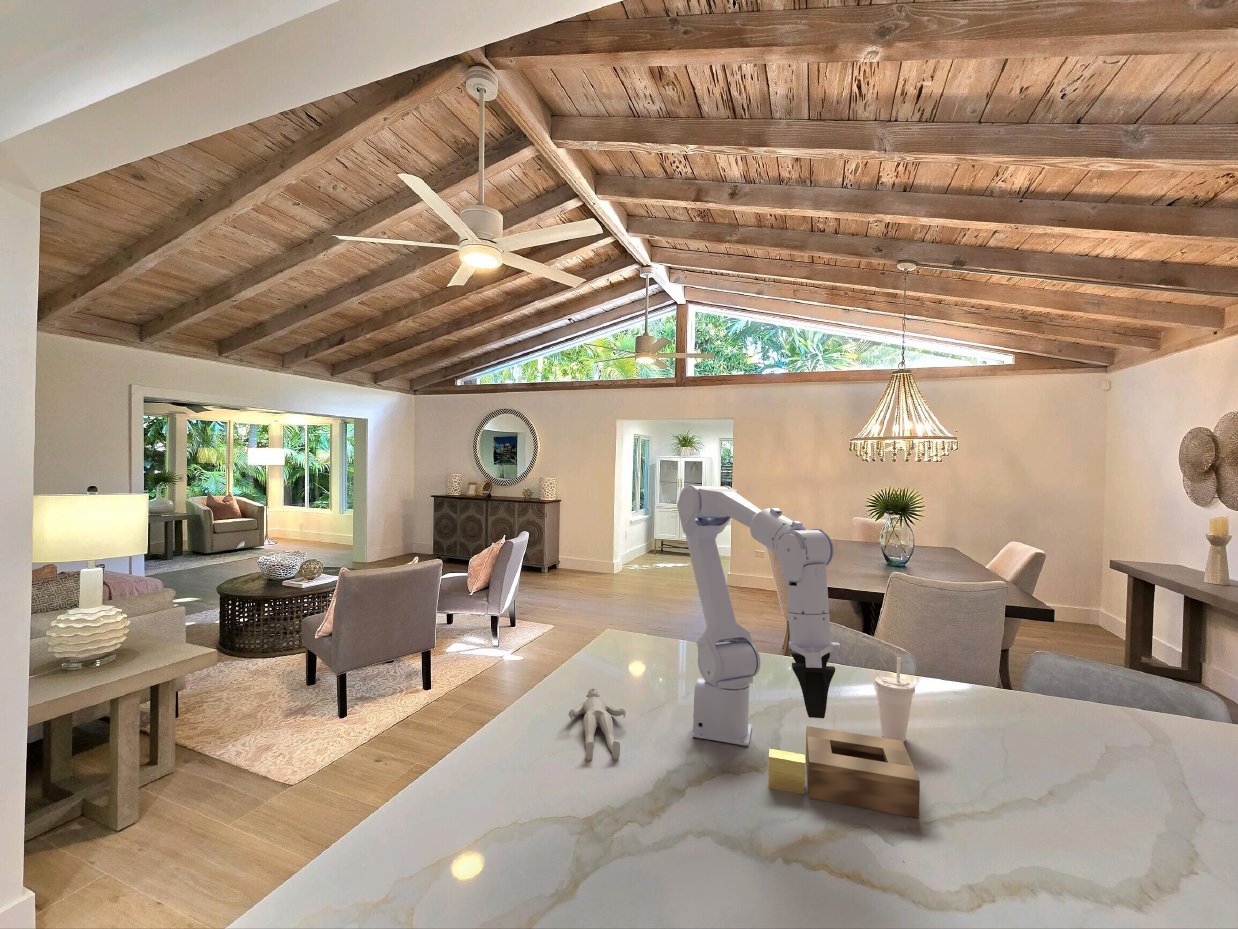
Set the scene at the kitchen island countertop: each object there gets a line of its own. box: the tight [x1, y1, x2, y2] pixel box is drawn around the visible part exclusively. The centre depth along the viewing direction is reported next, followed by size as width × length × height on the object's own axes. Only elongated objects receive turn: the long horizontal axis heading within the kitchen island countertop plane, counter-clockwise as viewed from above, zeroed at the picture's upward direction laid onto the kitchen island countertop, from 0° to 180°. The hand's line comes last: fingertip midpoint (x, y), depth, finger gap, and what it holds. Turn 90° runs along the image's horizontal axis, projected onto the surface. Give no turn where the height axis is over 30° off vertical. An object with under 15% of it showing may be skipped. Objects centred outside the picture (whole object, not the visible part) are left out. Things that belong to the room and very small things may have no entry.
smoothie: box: [874, 657, 916, 743], centre depth 98 cm, size 6×6×14 cm
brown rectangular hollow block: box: [805, 725, 921, 819], centre depth 82 cm, size 14×12×5 cm
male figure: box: [568, 687, 627, 761], centre depth 98 cm, size 10×4×22 cm
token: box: [767, 748, 806, 795], centre depth 81 cm, size 5×2×4 cm, turn 73°
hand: (814, 709), depth 80 cm, fingers open, 7 cm apart
